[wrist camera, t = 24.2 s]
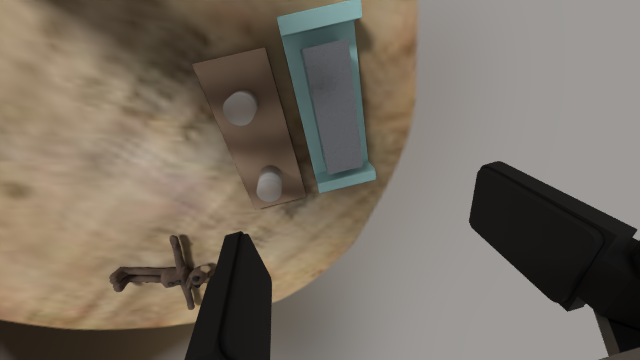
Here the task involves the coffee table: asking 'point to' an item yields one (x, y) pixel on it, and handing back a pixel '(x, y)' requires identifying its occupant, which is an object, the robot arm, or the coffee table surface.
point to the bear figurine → (165, 275)
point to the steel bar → (333, 104)
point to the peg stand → (253, 125)
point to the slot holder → (299, 35)
